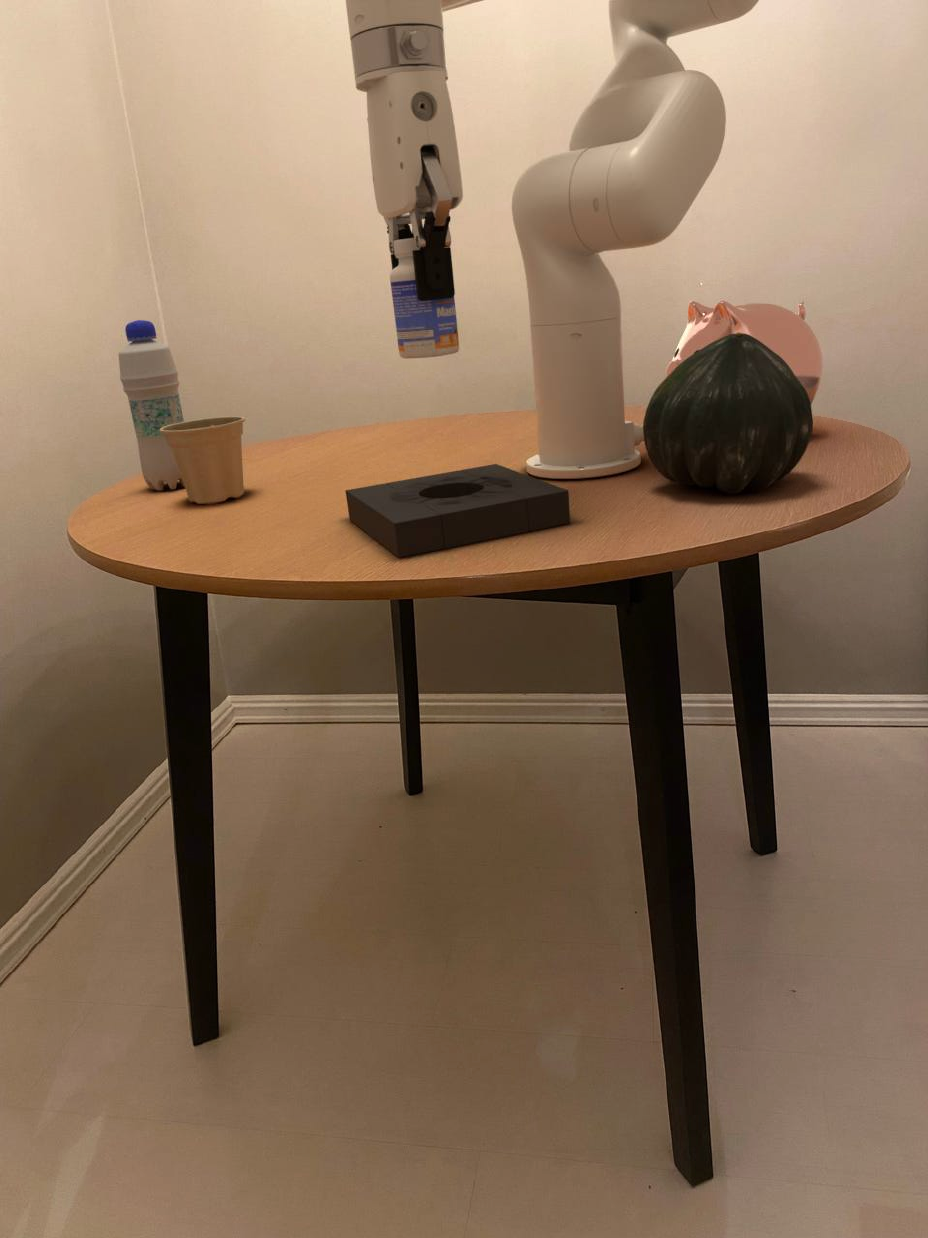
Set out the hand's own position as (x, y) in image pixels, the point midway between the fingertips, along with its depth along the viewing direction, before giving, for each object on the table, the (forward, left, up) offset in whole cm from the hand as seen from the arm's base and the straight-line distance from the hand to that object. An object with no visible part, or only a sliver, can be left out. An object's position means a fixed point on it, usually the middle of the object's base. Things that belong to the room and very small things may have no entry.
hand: (424, 297), depth 82 cm
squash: (-26, +7, -20) cm, 34 cm away
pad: (0, +1, -20) cm, 20 cm away
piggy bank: (-41, -11, -20) cm, 47 cm away
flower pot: (+18, -29, -20) cm, 39 cm away
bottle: (+22, -41, -20) cm, 50 cm away
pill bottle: (0, 0, -5) cm, 5 cm away
